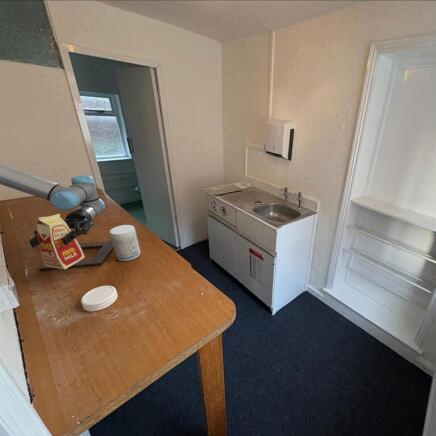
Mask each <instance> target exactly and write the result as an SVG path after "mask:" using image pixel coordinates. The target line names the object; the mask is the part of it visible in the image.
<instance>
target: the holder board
mask: <svg viewBox="0 0 436 436" xmlns="http://www.w3.org/2000/svg"><path fill="white" fill-rule="evenodd" d="M78 244H79V245H80V247H81V249H82V251H83V250H95V249H99V250H98V251H97V252H96V254H94V255H93V257H92V258H88V259H82V260H80V261H78V262H77V263H75V264H73V265H72V266H70V267H68V268H67V269H66V270H69V269H79V268H80V269H81V268H82V269H83V268H93V267H101V266H103V265H104V264H105V262H106V261H107V259H108V258H109V257H110V255H111V254H112V253H113V251H115V249H114V246H113V243H112V240H108V241H93V242H92V241H91V242H80V243H79V242H78ZM38 270H39V272H48V271H49V272H50V271H59V270H61V269H59V268H54V267H49V266H45V264H42V265H41V266H40V267H39V268H38Z"/></svg>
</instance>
